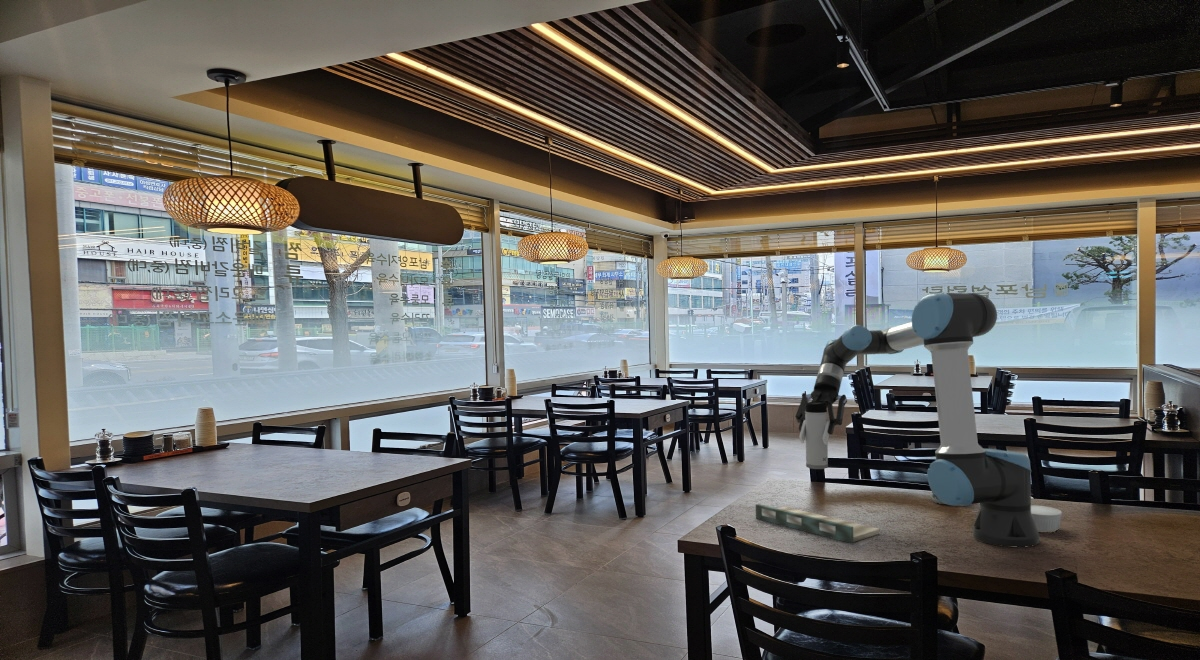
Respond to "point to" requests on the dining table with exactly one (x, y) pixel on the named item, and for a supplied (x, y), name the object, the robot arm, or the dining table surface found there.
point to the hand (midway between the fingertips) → (812, 440)
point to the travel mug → (816, 435)
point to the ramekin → (1046, 518)
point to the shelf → (815, 523)
